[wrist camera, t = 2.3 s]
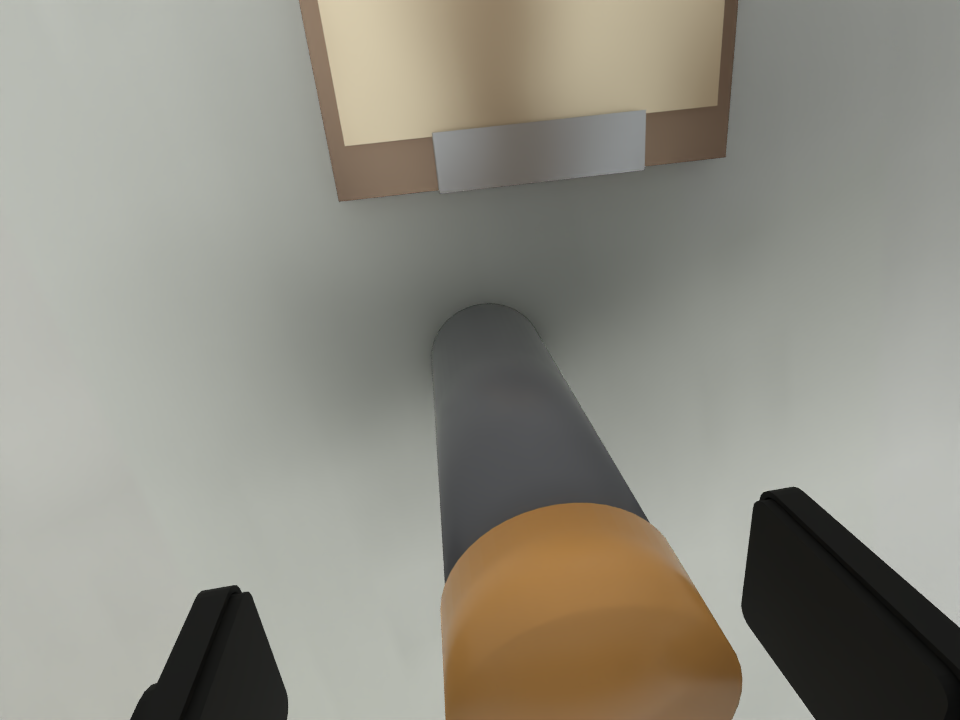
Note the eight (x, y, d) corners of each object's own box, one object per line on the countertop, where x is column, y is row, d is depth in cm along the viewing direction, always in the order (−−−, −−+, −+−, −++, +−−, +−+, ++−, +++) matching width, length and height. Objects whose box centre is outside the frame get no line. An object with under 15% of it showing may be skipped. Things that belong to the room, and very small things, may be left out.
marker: (540, 293, 19) (758, 581, 7) (546, 399, 20) (728, 779, 8) (420, 309, 18) (425, 635, 6) (436, 415, 20) (464, 827, 8)
